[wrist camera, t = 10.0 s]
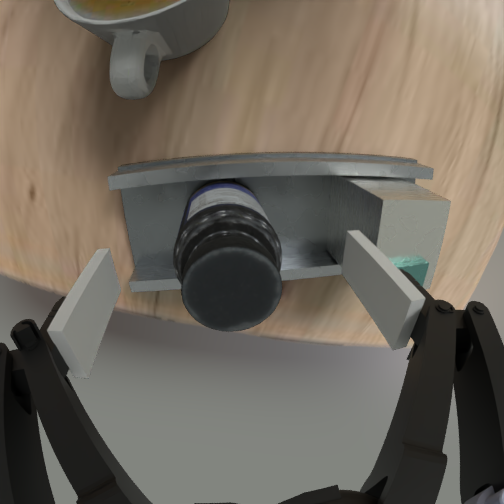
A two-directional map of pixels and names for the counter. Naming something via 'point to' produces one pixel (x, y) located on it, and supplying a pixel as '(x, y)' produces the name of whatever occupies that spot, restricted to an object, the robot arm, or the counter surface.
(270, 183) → the rail
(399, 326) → the robot arm
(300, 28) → the counter surface
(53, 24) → the counter surface
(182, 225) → the pill bottle
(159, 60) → the coffee mug
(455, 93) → the counter surface
